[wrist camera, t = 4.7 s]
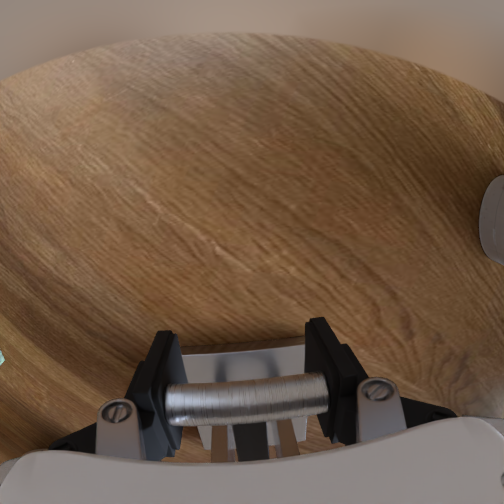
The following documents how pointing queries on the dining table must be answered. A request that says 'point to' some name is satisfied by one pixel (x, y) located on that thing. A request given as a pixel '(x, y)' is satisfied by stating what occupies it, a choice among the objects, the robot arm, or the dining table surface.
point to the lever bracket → (247, 368)
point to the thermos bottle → (493, 220)
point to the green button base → (1, 358)
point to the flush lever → (247, 406)
